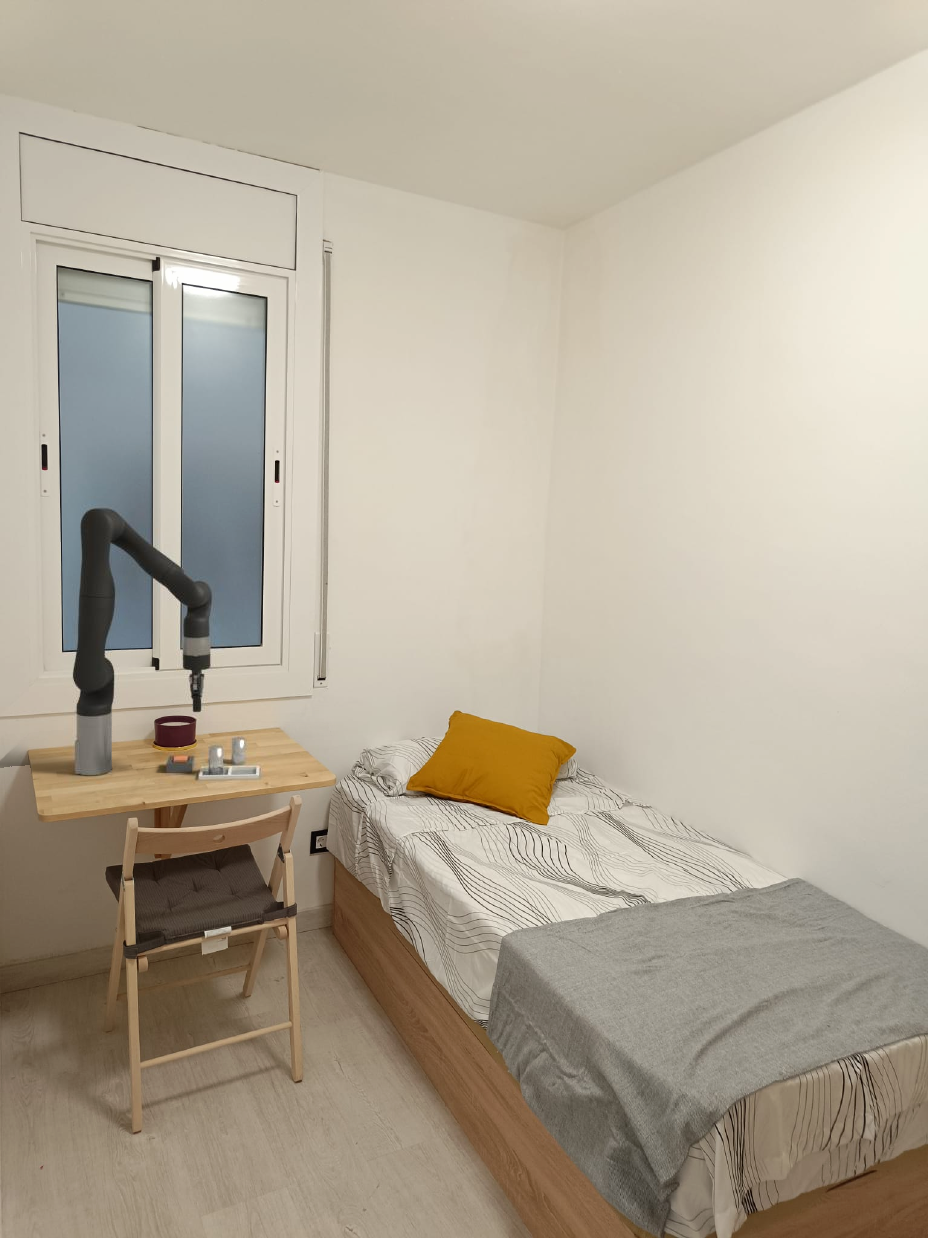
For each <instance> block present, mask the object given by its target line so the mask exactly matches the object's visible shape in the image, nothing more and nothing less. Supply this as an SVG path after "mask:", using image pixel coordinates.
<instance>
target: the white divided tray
mask: <svg viewBox="0 0 928 1238" xmlns="http://www.w3.org/2000/svg"><path fill="white" fill-rule="evenodd" d="M261 777H262V768H261V767H260V765H233V766H232V765H227V766H225V765H223V775H208V766H201V767H200V769H199V770H198V774H197V777H196V781H197V782H198V781H238V780H239V781H241V780H242V781H243V780H245V781H247V780H262V778H261Z"/></svg>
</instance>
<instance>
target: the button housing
mask: <svg viewBox="0 0 928 1238" xmlns="http://www.w3.org/2000/svg"><path fill="white" fill-rule="evenodd" d="M175 756H176V755H173V756H172V755H169V756H168V759H167V761H166V767H165V768H166V774H192V773H193V771H194V767H195V755H187V756H188V762H173V760H174V757H175Z"/></svg>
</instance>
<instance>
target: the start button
mask: <svg viewBox="0 0 928 1238" xmlns="http://www.w3.org/2000/svg"><path fill="white" fill-rule="evenodd" d="M174 756H175V757H174V760H173V762H188V756H189V755H174Z"/></svg>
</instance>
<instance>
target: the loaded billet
mask: <svg viewBox="0 0 928 1238" xmlns="http://www.w3.org/2000/svg"><path fill="white" fill-rule="evenodd" d="M223 766H224V746H222V745H210V746H209V747H208V766H207V767H208V775H223Z"/></svg>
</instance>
